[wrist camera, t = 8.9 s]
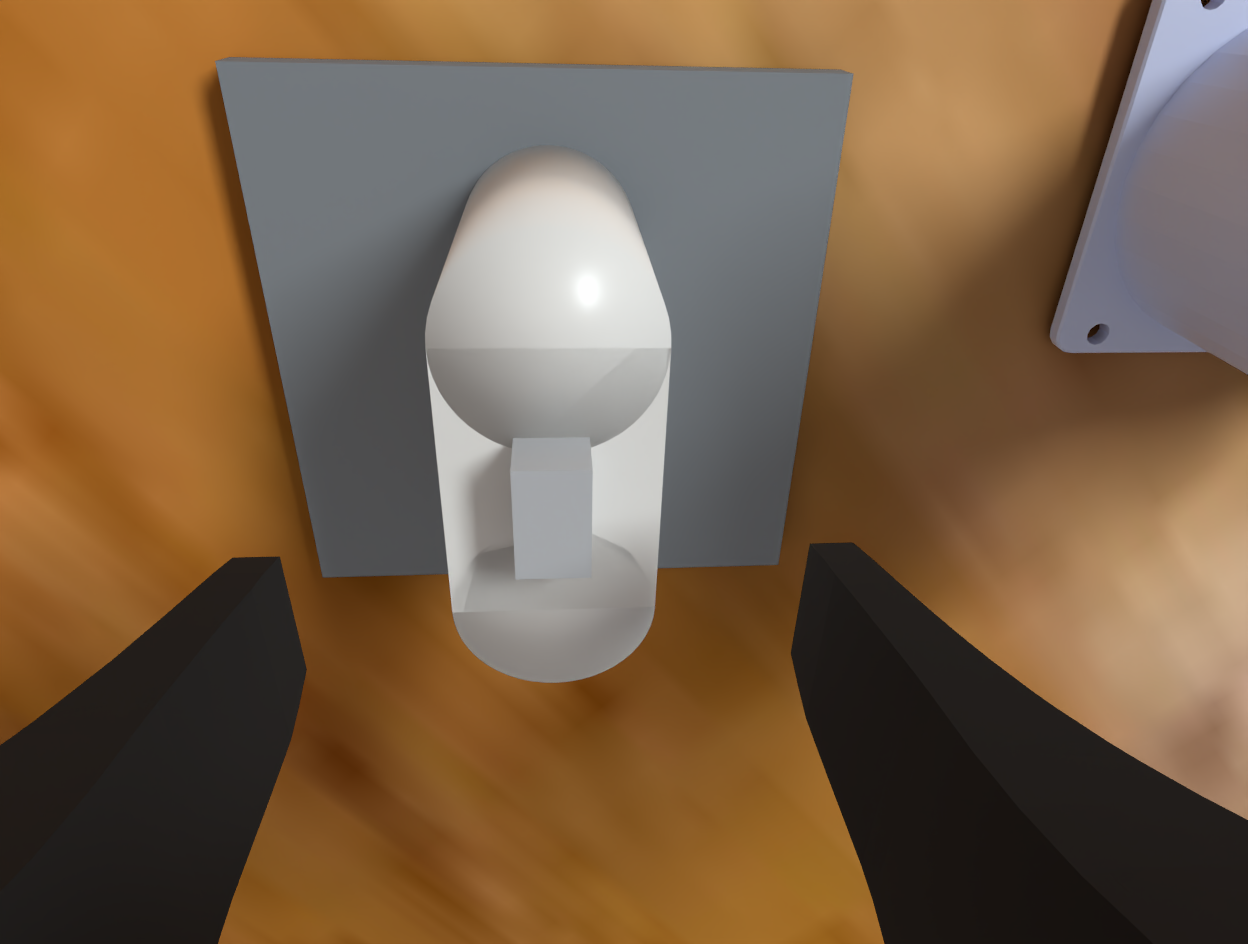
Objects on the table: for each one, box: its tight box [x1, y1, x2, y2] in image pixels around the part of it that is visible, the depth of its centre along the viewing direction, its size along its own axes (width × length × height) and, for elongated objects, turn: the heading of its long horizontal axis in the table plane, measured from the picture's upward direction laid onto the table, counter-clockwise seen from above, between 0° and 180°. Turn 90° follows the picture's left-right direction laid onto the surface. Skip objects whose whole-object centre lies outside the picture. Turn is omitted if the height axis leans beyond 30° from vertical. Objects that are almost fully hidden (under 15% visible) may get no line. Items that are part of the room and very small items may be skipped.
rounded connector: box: [425, 145, 671, 683], centre depth 16 cm, size 4×9×7 cm, turn 178°
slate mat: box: [215, 57, 853, 577], centre depth 19 cm, size 12×12×1 cm
